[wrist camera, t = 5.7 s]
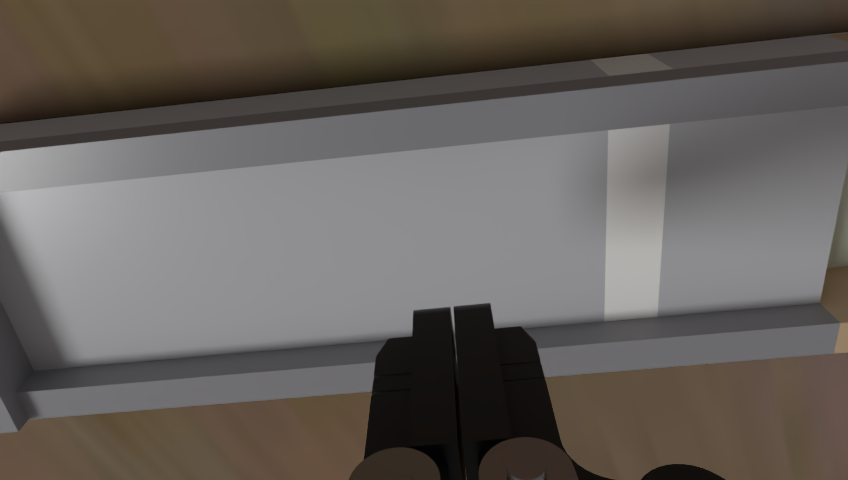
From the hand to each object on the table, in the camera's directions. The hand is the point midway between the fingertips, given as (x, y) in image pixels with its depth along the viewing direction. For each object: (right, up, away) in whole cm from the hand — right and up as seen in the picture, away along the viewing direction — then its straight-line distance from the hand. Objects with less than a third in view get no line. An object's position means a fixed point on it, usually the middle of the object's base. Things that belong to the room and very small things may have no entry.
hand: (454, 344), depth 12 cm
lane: (+4, +3, +6) cm, 8 cm away
